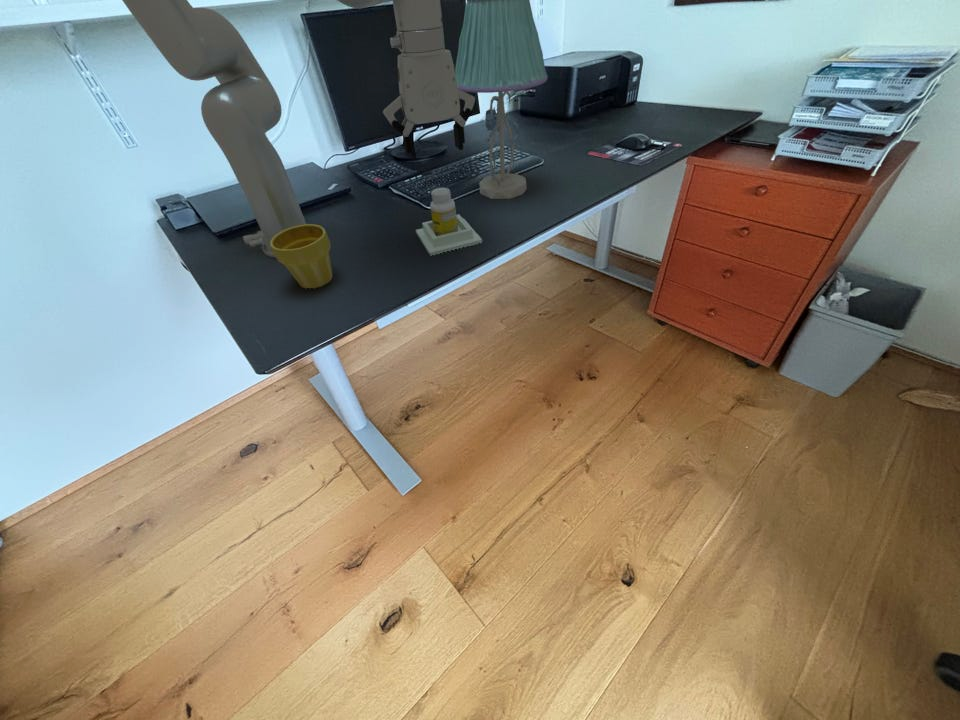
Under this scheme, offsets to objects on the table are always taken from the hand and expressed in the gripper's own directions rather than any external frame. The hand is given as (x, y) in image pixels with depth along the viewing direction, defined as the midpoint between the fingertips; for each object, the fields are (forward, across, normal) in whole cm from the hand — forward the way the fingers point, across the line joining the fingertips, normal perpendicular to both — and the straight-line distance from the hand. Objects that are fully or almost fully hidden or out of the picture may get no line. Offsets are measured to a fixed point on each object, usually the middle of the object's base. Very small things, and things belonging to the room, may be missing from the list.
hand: (436, 152), depth 79 cm
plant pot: (+18, -30, -4) cm, 35 cm away
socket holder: (+18, 0, 0) cm, 18 cm away
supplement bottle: (+18, 0, 0) cm, 18 cm away
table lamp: (+18, +22, +19) cm, 34 cm away
